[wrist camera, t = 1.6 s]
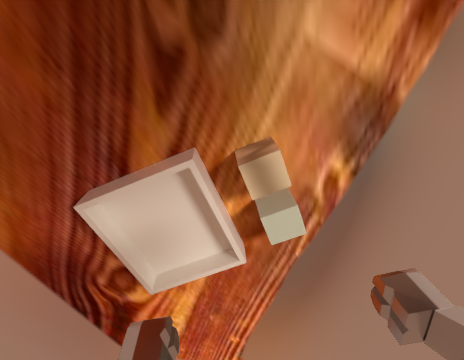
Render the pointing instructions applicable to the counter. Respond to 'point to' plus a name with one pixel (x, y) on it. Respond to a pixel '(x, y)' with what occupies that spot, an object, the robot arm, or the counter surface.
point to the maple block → (262, 168)
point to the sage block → (280, 216)
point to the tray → (165, 223)
